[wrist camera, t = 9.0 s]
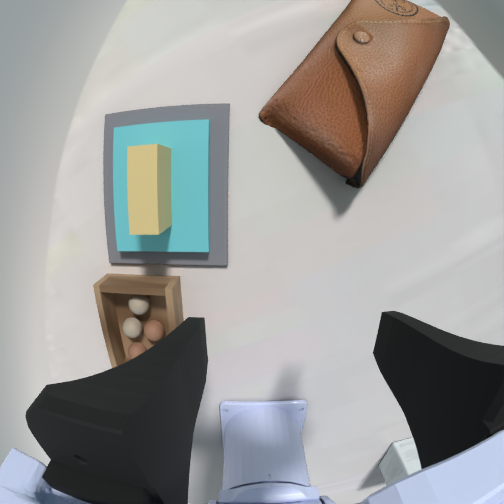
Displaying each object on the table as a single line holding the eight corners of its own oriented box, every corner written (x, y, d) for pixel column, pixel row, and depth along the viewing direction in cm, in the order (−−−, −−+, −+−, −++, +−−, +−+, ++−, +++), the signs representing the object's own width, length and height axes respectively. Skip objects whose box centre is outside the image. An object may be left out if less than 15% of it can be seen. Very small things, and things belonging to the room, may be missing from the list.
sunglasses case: (360, -24, 14) (424, -32, 9) (400, 30, 18) (460, 34, 13) (250, 122, 18) (313, 139, 13) (314, 170, 22) (376, 201, 17)
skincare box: (377, 465, 29) (392, 503, 22) (392, 441, 27) (411, 482, 20) (412, 455, 29) (428, 489, 22) (428, 430, 27) (449, 467, 20)
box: (188, 364, 22) (183, 382, 20) (123, 358, 22) (114, 374, 20) (179, 276, 20) (172, 289, 18) (107, 273, 20) (93, 285, 18)
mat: (227, 263, 20) (227, 265, 20) (111, 261, 20) (109, 262, 20) (229, 104, 17) (229, 103, 17) (107, 115, 17) (105, 114, 17)
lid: (210, 249, 20) (202, 266, 16) (121, 248, 19) (98, 263, 16) (210, 121, 17) (201, 109, 14) (118, 129, 17) (93, 121, 13)
